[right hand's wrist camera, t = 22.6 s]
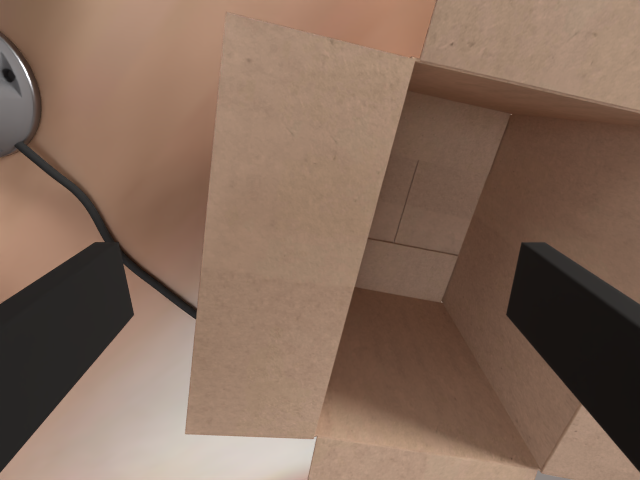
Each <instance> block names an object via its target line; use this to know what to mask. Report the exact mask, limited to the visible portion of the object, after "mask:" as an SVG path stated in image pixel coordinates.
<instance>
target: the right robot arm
mask: <svg viewBox="0 0 640 480" xmlns="http://www.w3.org/2000/svg"><path fill="white" fill-rule="evenodd" d="M40 117H41V98H40V93H39V88H38V85H37V82H36V79H35V77H34V74H33V72H32V70H31V68H30V66H29V65H28V63H27V61H26V60H25V58H24V57H23V55H22V54H21V52H20V51H19V50H18V49H17V47H16V46H15V45H14V44H13V43H12V42H11V41H10V40H9V39H8V38H7V37H6V36H5V35H3V34H2V33H1V32H0V157H3V156H7V155H11V154H13V153H16V152H18V151H21V152H22V153H23V154H24V155H25V156H27V157H28V158H29V159H30V160H31V161H33V162H34V163H35V164H36V165H37V166H39V167H40V168H41V169H42V170H43V171H45V172H46V173H47V174H48V175H50V176H51V177H52V178H53V179H55V180H56V181H57V182H59V183H60V184H62V185H63V186H64V187H66V188H67V189H68V190H69V191H71V192H72V193H73V194H74V195H75V196H76V197H77V198H78V199H79V201H80V202H81V203H82V204H83V205H84V207H85V208H86V210H87V211H88V213H89V214H90V216H91V218H92V219H93V221H94V223H95V225H96V227H97V229H98V231H99V233H100V234H101V236H102V238H103V240H104V241H105V242H95V243H93V244H92V245H90V246H89V247H87V248H86V249H84V250H82V251H81V252H79V253H78V254H76V255H75V256H73V257H72V258H70V259H69V260H67V261H66V262H64V263H63V264H61V265H59V266H58V267H56V268H55V269H53V270H52V271H50V272H49V273H47V274H46V275H44V276H43V277H41V278H40V279H38V280H36V281H35V282H33V283H32V284H30V285H29V286H27V287H26V288H24V289H23V290H21V291H20V292H18V293H17V294H15V295H13V296H12V297H10V298H9V299H7V300H6V301H4V302H3V303H1V304H0V472H1V471H2V470H3V469H4V468H5V466H6V465H7V464H8V463H9V462H10V461H11V459H12V458H13V457H14V456H15V455H16V453H17V452H18V451H19V450H20V449H21V448H22V446H23V445H24V444H25V443H26V442H27V440H28V439H29V438H30V437H31V436H32V435H33V433H34V432H35V431H36V430H37V429H38V428H39V426H40V425H41V424H42V423H43V422H44V420H45V419H46V418H47V417H48V416H49V415H50V413H51V412H52V411H53V410H54V409H55V407H56V406H57V405H58V404H59V403H60V402H61V400H62V399H63V398H64V397H65V396H66V394H67V393H68V392H69V391H70V390H71V389H72V387H73V386H74V385H75V384H76V383H77V382H78V380H79V379H80V378H81V377H82V376H83V374H84V373H85V372H86V371H87V370H88V369H89V367H90V366H91V365H92V364H93V363H94V361H95V360H96V359H97V358H98V357H99V356H100V354H101V353H102V352H103V351H104V350H105V349H106V347H107V346H108V345H109V344H110V343H111V341H112V340H113V339H114V338H115V337H116V336H117V334H118V333H119V332H120V331H121V330H122V328H123V327H124V326H125V325H126V324H127V323H128V321H129V320H130V319H131V318H132V317H133V315H134V313H133V308H132V303H131V298H130V294H129V289H128V284H127V280H126V275H125V270H124V266H123V264H125V265H126V266H127V267H128V268H129V269H130V270H131V271H132V272H134V273H135V274H136V275H138V276H139V277H140V278H141V279H143V280H144V281H145V282H147V283H148V284H149V285H151V286H152V287H153V288H155V289H156V290H157V291H159V292H160V293H161V294H163V295H164V296H165V297H166V298H168V299H169V300H170V301H172V302H173V303H174V304H176V305H177V306H178V307H180V308H181V309H182V310H184V311H185V312H186V313H188V314H189V315H191V316H192V317H193V318H195V319H196V315H197V311H196V310H194V309H193V308H192V307H190V306H189V305H188V304H186V303H185V302H184V301H182V300H181V299H180V298H178V297H177V296H176V295H174V294H173V293H172V292H171V291H169V290H168V289H167V288H165V287H164V286H163V285H162V284H160V283H159V282H158V281H156V280H155V279H154V278H152V277H151V276H150V275H148V274H147V273H146V272H145V271H143V270H142V269H141V268H139V267H138V266H137V265H136V264H135V263H134V262H133V261H131V260H130V259H129V258H128V257H127V256H126V255H125V254H124V253H123V251H122V250H121V249H120V247H119V242H114V240H113V239H112V237H111V235H110V234H109V232H108V230H107V228H106V226H105V224H104V222H103V220H102V218H101V217H100V215H99V213H98V211H97V210H96V208H95V207H94V205H93V204H92V202H91V201H90V200H89V198H88V197H87V196H86V195H85V194H84V193H83V192H82V191H81V190H80V189H79V188H78V187H77V186H76V185H75V184H74V183H72V182H71V181H70V180H68V179H67V178H66V177H64V176H63V175H62V174H60V173H59V172H58V171H57V170H55V169H54V168H53V167H52V166H50V165H49V164H48V163H47V162H46V161H44V160H43V159H42V158H41V157H40V156H39V155H37V154H36V153H35V152H34V151H33V150H31V149H30V148H29V147H28V146H27V144H28V143H29V142H30V141H31V140H32V138H33V137H34V135H35V133H36V131H37V129H38V126H39V123H40ZM506 315H507V317H508V318H509V319H510V320H511V321H512V323H513V324H514V325H515V326H516V327H517V328H518V330H519V331H520V332H521V333H522V334H523V336H524V337H525V338H526V339H527V340H528V341H529V343H530V344H531V345H532V346H533V347H534V349H535V350H536V351H537V352H538V353H539V354H540V356H541V357H542V358H543V359H544V360H545V361H546V363H547V364H548V365H549V366H550V367H551V369H552V370H553V371H554V372H555V373H556V374H557V376H558V377H559V378H560V379H561V380H562V382H563V383H564V384H565V385H566V386H567V387H568V389H569V390H570V391H571V392H572V393H573V394H574V396H575V397H576V398H577V399H578V400H579V402H580V403H581V404H582V405H583V406H584V407H585V409H586V410H587V411H588V412H589V413H590V415H591V416H592V417H593V418H594V419H595V420H596V422H597V423H598V424H599V425H600V426H601V428H602V429H603V430H604V431H605V432H606V433H607V435H608V436H609V437H610V438H611V439H612V440H613V442H614V443H615V444H616V445H617V446H618V448H619V449H620V450H621V451H622V452H623V453H624V455H625V456H626V457H627V458H628V459H629V461H630V462H631V463H632V464H633V465H634V466H635V468H636V469H637V470H638V471H639V472H640V304H639V303H637V302H636V301H634V300H633V299H631V298H630V297H628V296H627V295H625V294H623V293H622V292H620V291H619V290H617V289H616V288H614V287H613V286H611V285H610V284H608V283H607V282H605V281H604V280H602V279H600V278H599V277H597V276H596V275H594V274H593V273H591V272H590V271H588V270H587V269H585V268H584V267H582V266H581V265H579V264H577V263H576V262H574V261H573V260H571V259H570V258H568V257H567V256H565V255H564V254H562V253H561V252H559V251H558V250H556V249H554V248H553V247H551V246H550V245H548V244H547V243H545V242H521V247H520V251H519V256H518V261H517V265H516V270H515V275H514V280H513V284H512V289H511V294H510V298H509V303H508V308H507V313H506Z"/></svg>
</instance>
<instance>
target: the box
mask: <svg viewBox="0 0 640 480" xmlns="http://www.w3.org/2000/svg"><path fill="white" fill-rule="evenodd" d="M511 114H512V115H511ZM415 168H416V169H415ZM413 175H414V176H413ZM412 178H413V179H412ZM410 185H411V186H410ZM409 188H410V189H409ZM407 195H408V196H407ZM406 198H407V199H406ZM404 205H405V206H404ZM401 215H402V216H401ZM399 222H400V223H399ZM398 225H399V226H398ZM396 232H397V233H396ZM395 235H396V236H395ZM393 242H394V243H393ZM521 242H545V243H547V244H548V245H550V246H551V247H553V248H554V249H556V250H558V251H559V252H561V253H562V254H564V255H565V256H567V257H568V258H570V259H571V260H573V261H574V262H576V263H577V264H579V265H581V266H582V267H584V268H585V269H587V270H588V271H590V272H591V273H593V274H594V275H596V276H597V277H599V278H600V279H602V280H604V281H605V282H607V283H608V284H610V285H611V286H613V287H614V288H616V289H617V290H619V291H620V292H622V293H623V294H625V295H627V296H628V297H630V298H631V299H633V300H634V301H636V302H637V303H639V304H640V0H436V3H435V7H434V10H433V14H432V17H431V21H430V24H429V28H428V31H427V35H426V38H425V42H424V45H423V49H422V52H421V56H420V59H418V58H414V57H410V58H409V57H405V56H401V55H397V54H393V53H389V52H385V51H381V50H377V49H373V48H369V47H365V46H361V45H357V44H353V43H349V42H345V41H341V40H337V39H333V38H329V37H325V36H321V35H317V34H313V33H309V32H305V31H301V30H297V29H293V28H289V27H285V26H281V25H277V24H273V23H269V22H265V21H261V20H257V19H253V18H249V17H245V16H241V15H237V14H233V13H229V12H226V16H225V26H224V36H223V47H222V57H221V67H220V78H219V88H218V98H217V109H216V119H215V129H214V140H213V150H212V160H211V171H210V181H209V191H208V202H207V212H206V222H205V233H204V243H203V253H202V264H201V274H200V284H199V295H198V305H197V315H196V326H195V336H194V346H193V357H192V367H191V378H190V388H189V398H188V409H187V419H186V429H185V434H195V435H221V436H246V437H272V438H298V439H314V437H316V436H317V439H316V443H315V448H314V453H313V457H312V462H311V466H310V471H309V476H308V480H535V477H536V474H537V471H538V470H539V471H540V472H541V473H542V474H547V475H552V476H558V477H563V478H568V479H573V480H640V472H639V471H638V470H637V469H636V468H635V466H634V465H633V464H632V463H631V462H630V461H629V459H628V458H627V457H626V456H625V455H624V453H623V452H622V451H621V450H620V449H619V448H618V446H617V445H616V444H615V443H614V442H613V440H612V439H611V438H610V437H609V436H608V435H607V433H606V432H605V431H604V430H603V429H602V428H601V426H600V425H599V424H598V423H597V422H596V420H595V419H594V418H593V417H592V416H591V415H590V413H589V412H588V411H587V410H586V409H585V407H584V406H583V405H582V404H581V403H580V402H579V400H578V399H577V398H576V397H575V396H574V394H573V393H572V392H571V391H570V390H569V389H568V387H567V386H566V385H565V384H564V383H563V382H562V380H561V379H560V378H559V377H558V376H557V374H556V373H555V372H554V371H553V370H552V369H551V367H550V366H549V365H548V364H547V363H546V361H545V360H544V359H543V358H542V357H541V356H540V354H539V353H538V352H537V351H536V350H535V349H534V347H533V346H532V345H531V344H530V343H529V341H528V340H527V339H526V338H525V337H524V336H523V334H522V333H521V332H520V331H519V330H518V328H517V327H516V326H515V325H514V324H513V323H512V321H511V320H510V319H509V318H508V317H507V315H506V313H507V308H508V303H509V298H510V294H511V289H512V284H513V280H514V275H515V270H516V265H517V261H518V256H519V251H520V247H521ZM441 301H442V302H443V303H441Z"/></svg>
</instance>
